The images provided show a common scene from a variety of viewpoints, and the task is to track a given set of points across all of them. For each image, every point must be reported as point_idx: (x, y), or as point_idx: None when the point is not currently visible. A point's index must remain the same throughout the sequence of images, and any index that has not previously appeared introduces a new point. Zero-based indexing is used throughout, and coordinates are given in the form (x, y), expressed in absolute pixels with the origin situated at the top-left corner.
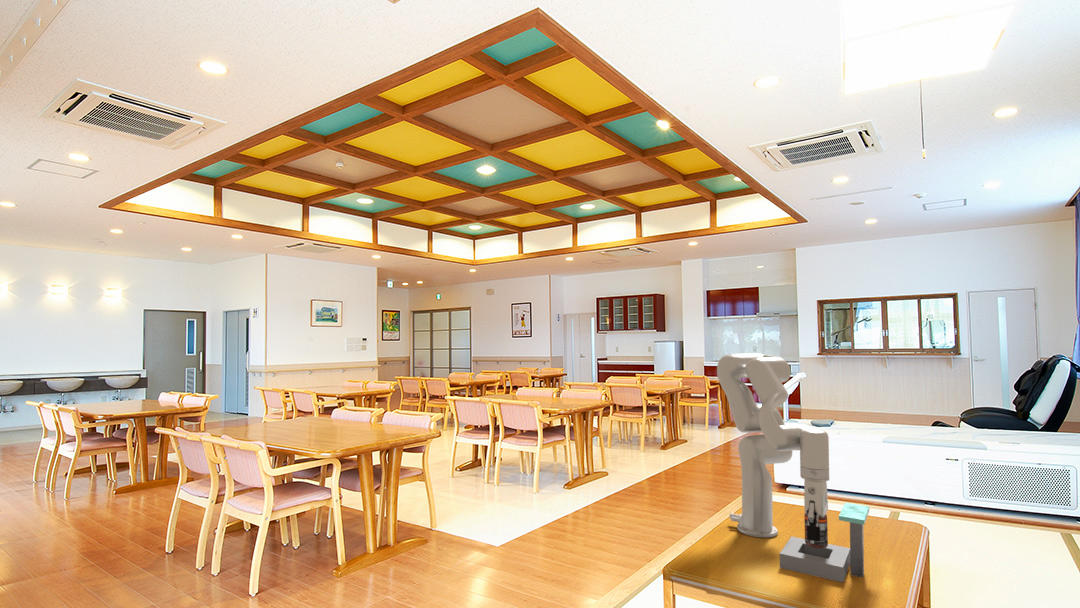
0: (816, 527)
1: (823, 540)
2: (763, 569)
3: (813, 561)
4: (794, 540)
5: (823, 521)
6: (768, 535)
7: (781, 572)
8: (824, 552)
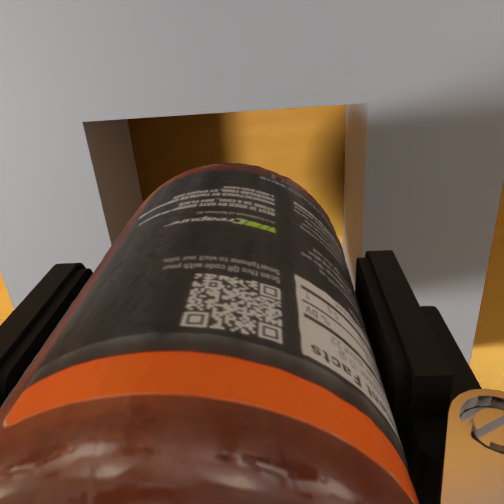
0: (446, 406)
1: (311, 217)
2: None
3: (496, 204)
4: None
5: (333, 408)
6: None
7: (494, 330)
8: (114, 181)
